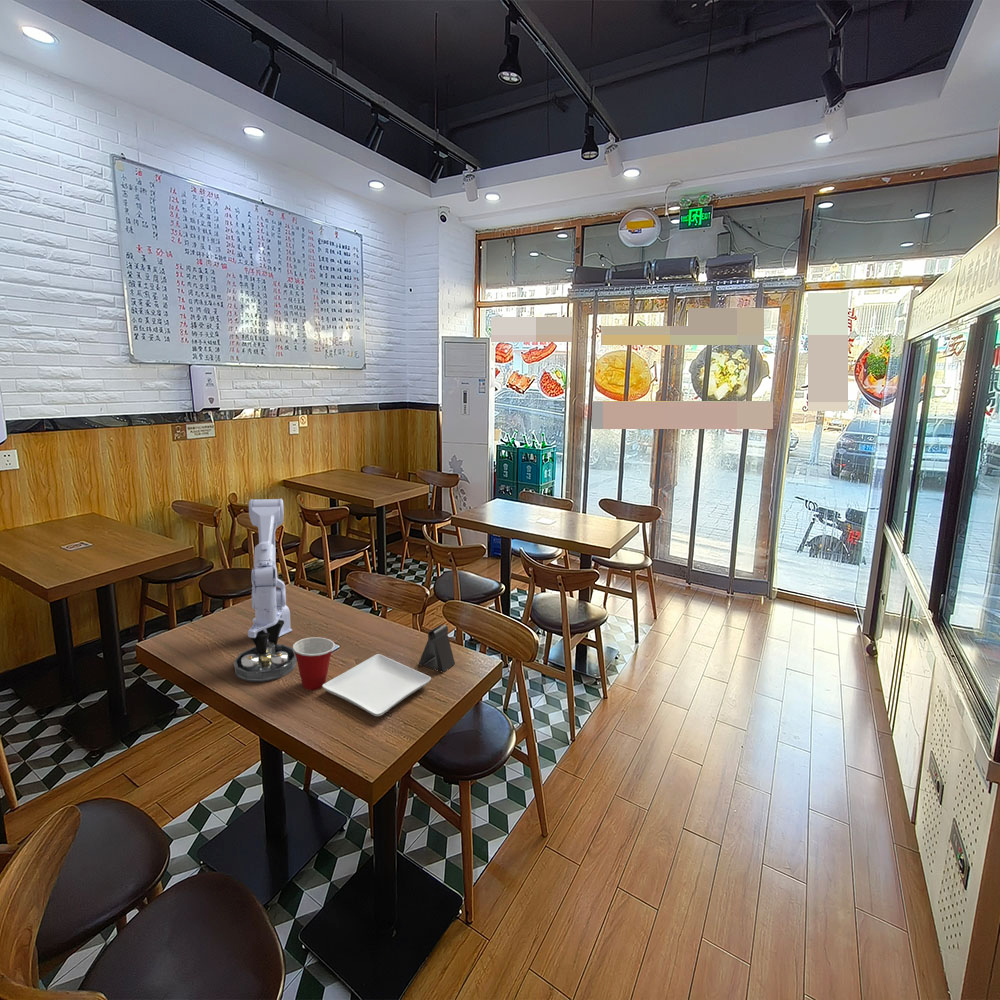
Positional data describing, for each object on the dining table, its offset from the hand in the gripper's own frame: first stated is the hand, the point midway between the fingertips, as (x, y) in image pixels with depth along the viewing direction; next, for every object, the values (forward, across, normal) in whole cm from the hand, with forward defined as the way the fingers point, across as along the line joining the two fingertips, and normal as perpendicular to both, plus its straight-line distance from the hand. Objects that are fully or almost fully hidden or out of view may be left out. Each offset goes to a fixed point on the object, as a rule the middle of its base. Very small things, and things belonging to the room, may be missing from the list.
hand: (267, 649), depth 157 cm
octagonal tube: (+2, 0, 0) cm, 2 cm away
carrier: (+3, +4, +2) cm, 6 cm away
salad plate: (+4, +7, +37) cm, 38 cm away
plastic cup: (+3, +8, +20) cm, 22 cm away
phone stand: (+3, -11, +49) cm, 50 cm away
